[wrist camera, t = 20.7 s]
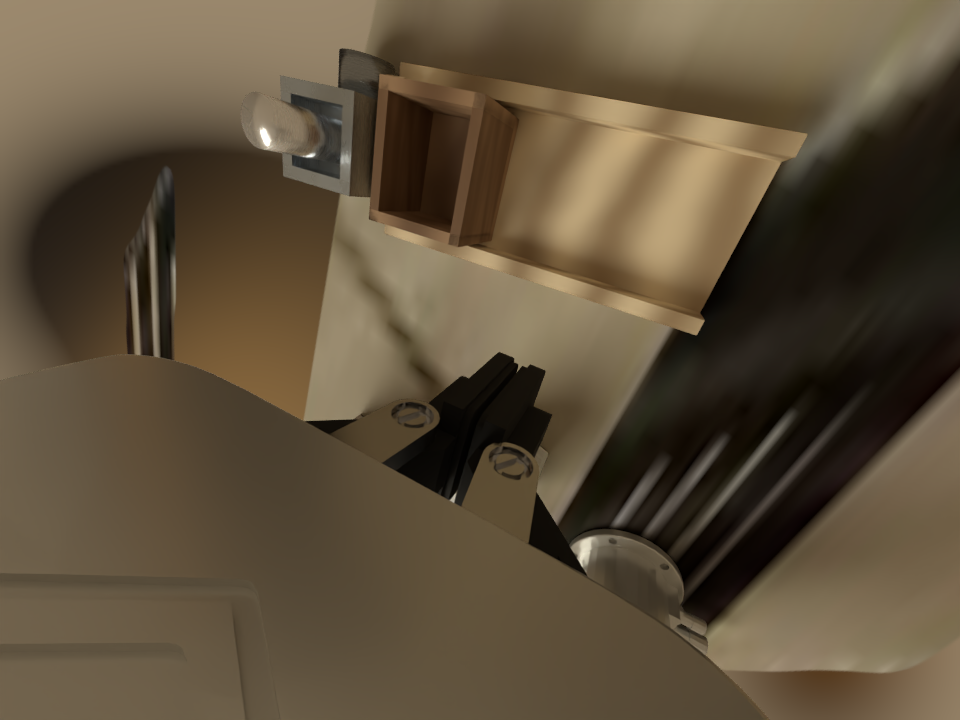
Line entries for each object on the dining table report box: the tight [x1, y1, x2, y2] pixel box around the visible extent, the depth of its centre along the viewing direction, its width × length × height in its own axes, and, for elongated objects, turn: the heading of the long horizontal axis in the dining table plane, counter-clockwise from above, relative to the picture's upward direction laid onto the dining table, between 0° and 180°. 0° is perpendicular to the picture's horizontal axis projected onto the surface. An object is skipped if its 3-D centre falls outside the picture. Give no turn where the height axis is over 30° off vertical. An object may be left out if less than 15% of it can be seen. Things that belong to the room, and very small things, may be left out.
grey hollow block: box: [280, 49, 395, 197], centre depth 31 cm, size 7×10×8 cm
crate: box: [369, 74, 519, 247], centre depth 28 cm, size 8×9×7 cm
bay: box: [384, 62, 808, 335], centre depth 28 cm, size 28×13×5 cm, turn 76°
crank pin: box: [241, 92, 342, 164], centre depth 27 cm, size 3×3×8 cm
